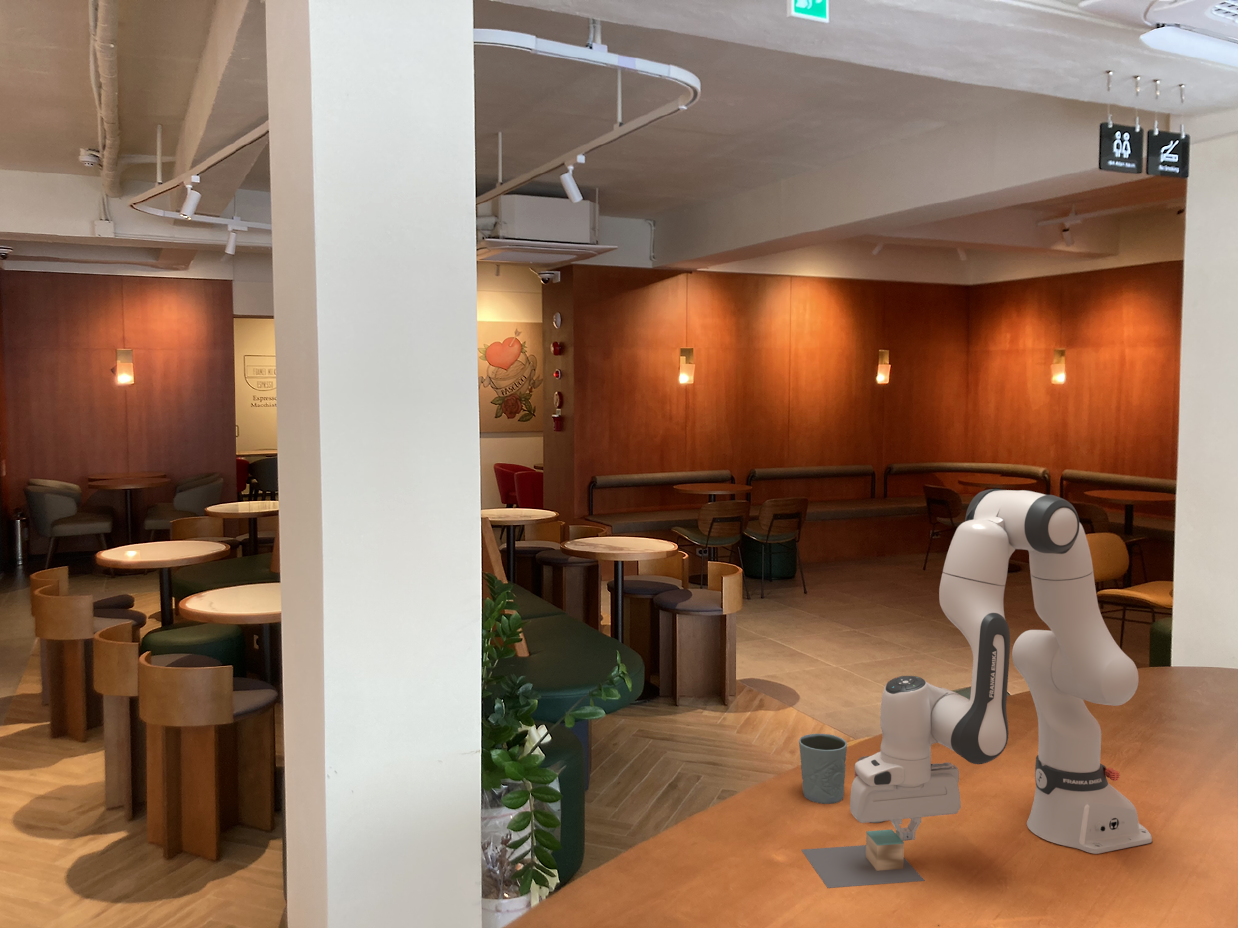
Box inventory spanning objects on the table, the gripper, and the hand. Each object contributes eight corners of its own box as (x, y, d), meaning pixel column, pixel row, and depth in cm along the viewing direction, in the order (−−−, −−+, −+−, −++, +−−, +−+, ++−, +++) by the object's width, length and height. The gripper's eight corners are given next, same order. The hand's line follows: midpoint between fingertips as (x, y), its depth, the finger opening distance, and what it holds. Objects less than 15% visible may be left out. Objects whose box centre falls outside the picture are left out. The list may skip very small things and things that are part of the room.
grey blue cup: (846, 807, 197) (847, 751, 196) (797, 803, 199) (798, 747, 198) (845, 787, 207) (846, 734, 206) (798, 783, 209) (799, 731, 208)
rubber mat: (891, 846, 180) (891, 843, 180) (925, 883, 166) (925, 880, 166) (800, 852, 177) (800, 849, 177) (827, 891, 164) (827, 887, 164)
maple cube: (891, 855, 175) (891, 829, 175) (903, 868, 170) (903, 841, 170) (865, 857, 175) (866, 831, 174) (877, 870, 170) (877, 843, 169)
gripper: (950, 754, 176) (950, 825, 177) (846, 764, 173) (846, 836, 174) (967, 768, 170) (967, 841, 171) (860, 777, 167) (860, 852, 168)
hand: (905, 839), depth 173 cm, fingers closed
